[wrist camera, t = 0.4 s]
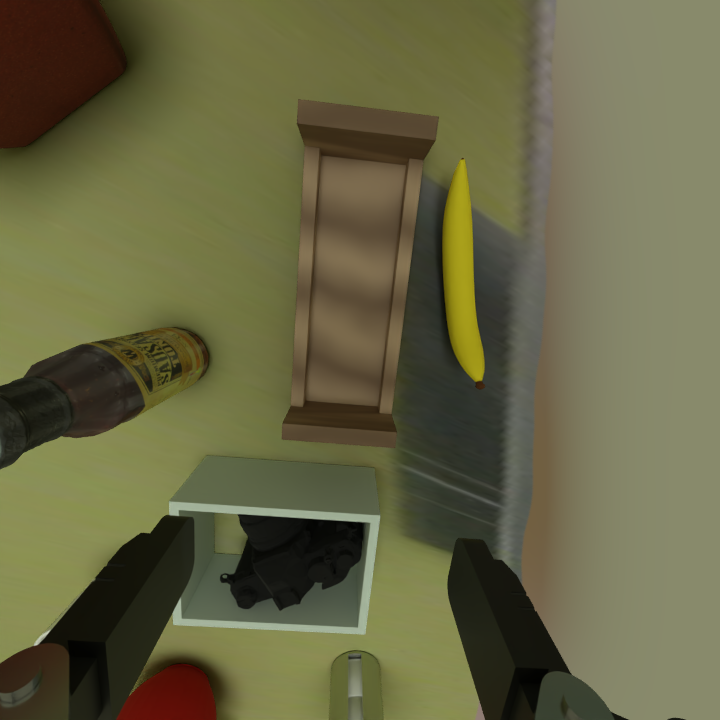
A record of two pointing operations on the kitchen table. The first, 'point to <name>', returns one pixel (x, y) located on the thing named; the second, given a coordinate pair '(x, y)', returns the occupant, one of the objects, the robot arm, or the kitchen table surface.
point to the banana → (461, 277)
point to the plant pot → (51, 63)
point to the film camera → (292, 558)
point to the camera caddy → (282, 499)
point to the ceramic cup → (172, 696)
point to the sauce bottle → (96, 387)
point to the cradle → (353, 268)
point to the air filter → (356, 688)
